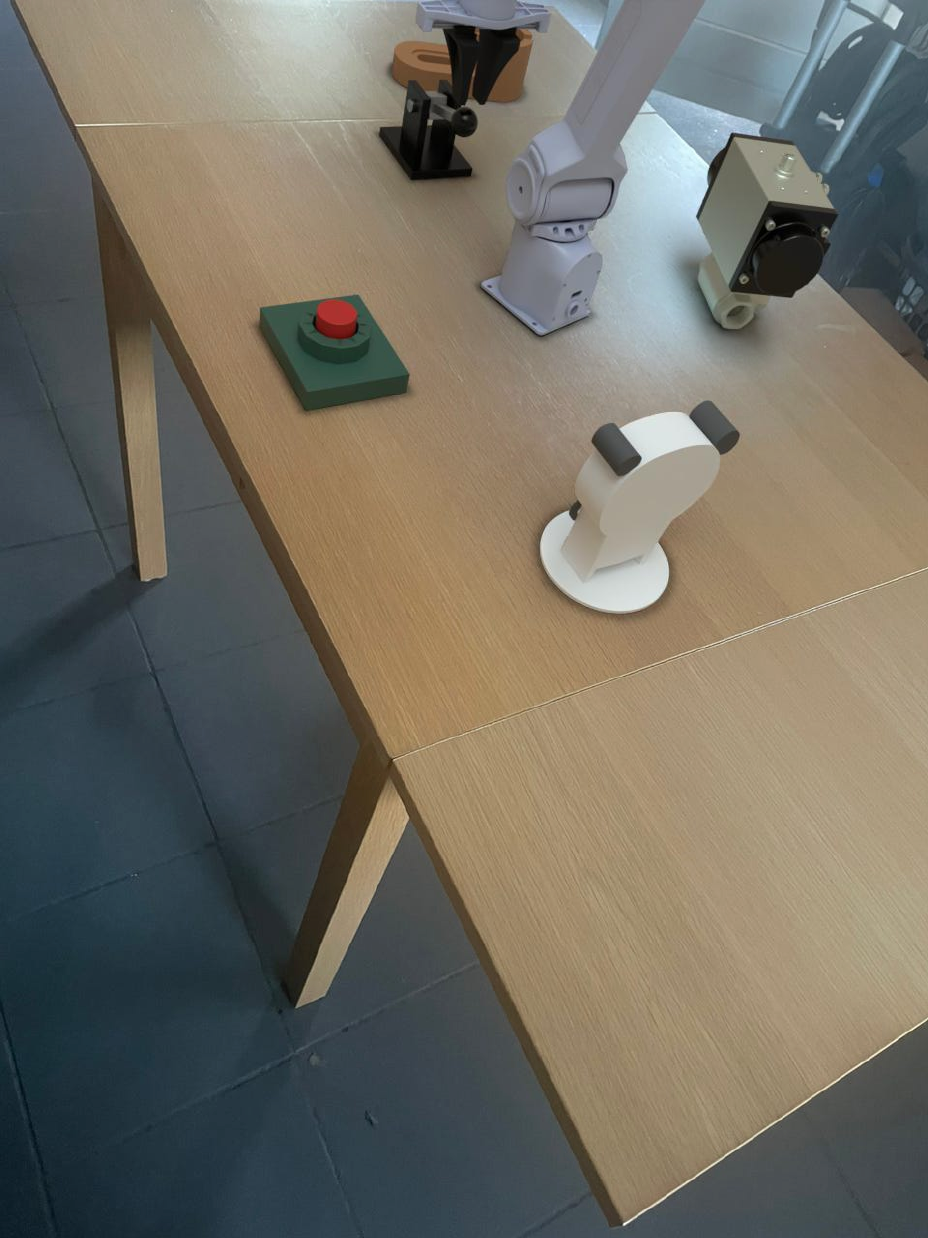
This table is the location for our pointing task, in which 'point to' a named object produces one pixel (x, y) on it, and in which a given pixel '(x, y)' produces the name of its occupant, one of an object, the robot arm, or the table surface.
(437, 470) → the table surface
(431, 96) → the lever
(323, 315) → the button
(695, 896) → the table surface
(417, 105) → the bracket
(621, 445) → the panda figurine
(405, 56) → the bracket
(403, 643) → the table surface
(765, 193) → the ball valve
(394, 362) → the button box
